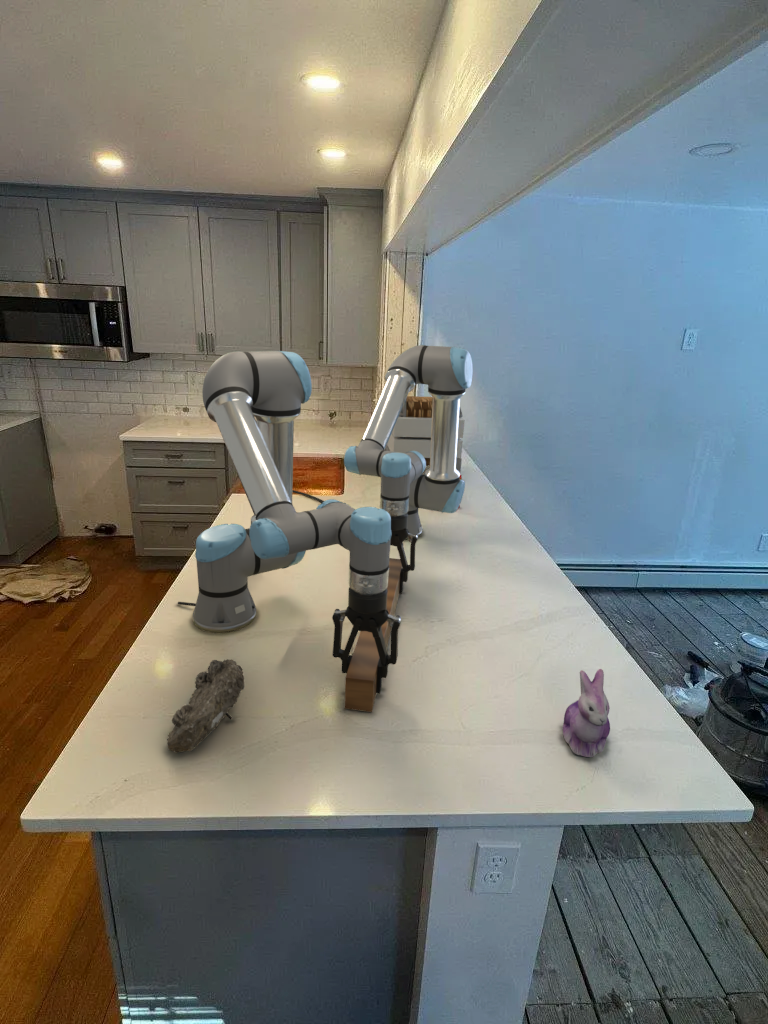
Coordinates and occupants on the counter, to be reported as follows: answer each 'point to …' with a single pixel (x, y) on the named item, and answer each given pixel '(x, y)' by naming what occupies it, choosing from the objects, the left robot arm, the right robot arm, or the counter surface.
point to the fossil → (206, 705)
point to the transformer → (419, 429)
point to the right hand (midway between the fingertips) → (389, 590)
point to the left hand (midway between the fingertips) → (363, 687)
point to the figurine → (588, 717)
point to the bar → (370, 653)
